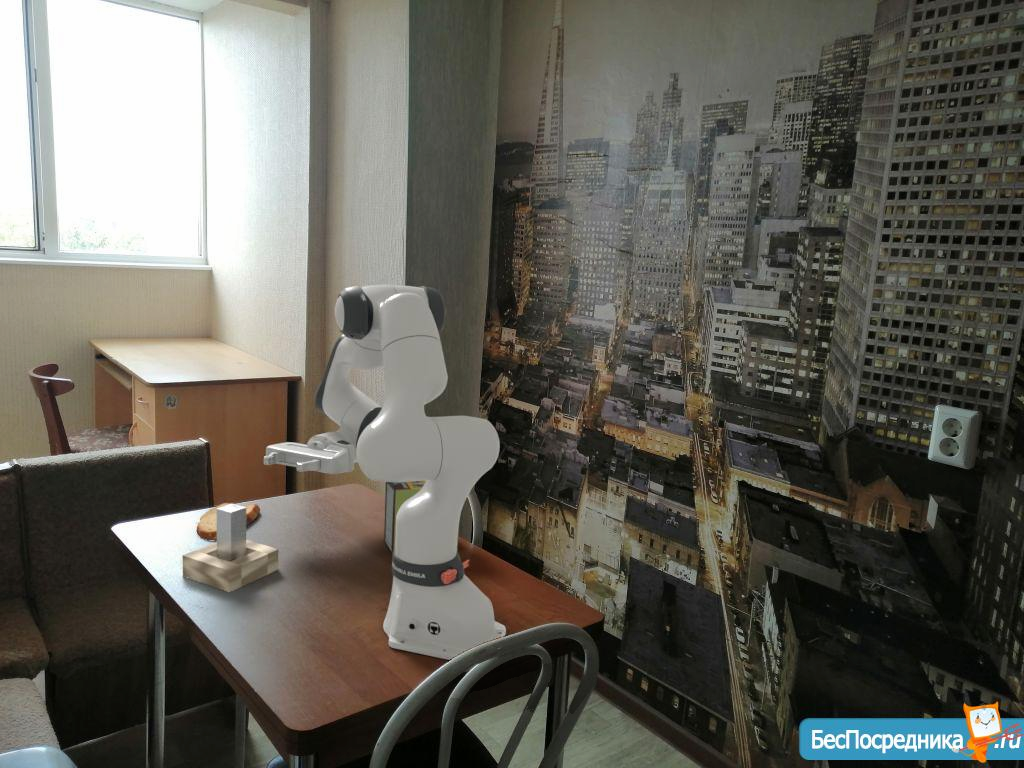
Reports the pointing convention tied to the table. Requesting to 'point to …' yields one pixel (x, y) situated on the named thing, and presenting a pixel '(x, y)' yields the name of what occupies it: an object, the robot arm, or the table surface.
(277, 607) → the table surface
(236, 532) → the steel post
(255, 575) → the well block
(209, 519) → the bread slice
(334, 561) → the table surface
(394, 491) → the protein box
